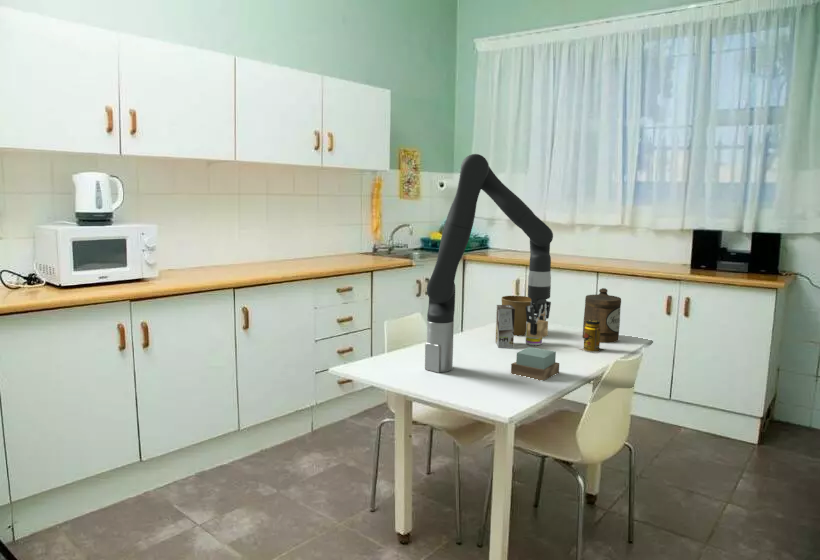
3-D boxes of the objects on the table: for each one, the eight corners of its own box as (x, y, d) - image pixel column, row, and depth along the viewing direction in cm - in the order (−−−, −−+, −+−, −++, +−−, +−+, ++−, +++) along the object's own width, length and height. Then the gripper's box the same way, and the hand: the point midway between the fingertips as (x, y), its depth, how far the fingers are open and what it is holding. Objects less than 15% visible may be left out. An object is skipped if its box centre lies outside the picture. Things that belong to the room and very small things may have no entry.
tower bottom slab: (542, 382, 198) (543, 370, 197) (510, 375, 205) (511, 363, 205) (558, 374, 207) (559, 363, 206) (528, 367, 214) (528, 356, 214)
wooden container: (617, 344, 247) (620, 292, 244) (580, 340, 253) (583, 289, 249) (619, 336, 260) (623, 287, 257) (584, 333, 266) (587, 284, 263)
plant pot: (503, 337, 256) (504, 301, 253) (497, 329, 270) (499, 295, 268) (537, 338, 256) (539, 301, 253) (530, 330, 271) (532, 295, 268)
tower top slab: (543, 369, 198) (544, 358, 198) (516, 364, 204) (516, 352, 203) (555, 362, 206) (555, 351, 206) (528, 357, 212) (528, 346, 211)
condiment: (579, 349, 238) (580, 320, 236) (590, 346, 244) (591, 317, 242) (595, 353, 233) (597, 323, 231) (606, 349, 238) (608, 320, 237)
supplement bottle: (542, 346, 242) (543, 315, 240) (525, 345, 243) (527, 314, 241) (541, 342, 249) (542, 312, 247) (525, 341, 250) (526, 311, 248)
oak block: (540, 338, 200) (541, 323, 200) (527, 335, 204) (527, 321, 203) (547, 335, 204) (548, 321, 203) (534, 333, 207) (534, 319, 207)
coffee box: (513, 348, 239) (515, 308, 236) (497, 347, 239) (499, 308, 237) (510, 342, 248) (512, 304, 245) (495, 342, 248) (496, 304, 246)
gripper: (539, 287, 193) (537, 338, 196) (559, 282, 204) (557, 331, 207) (518, 285, 198) (517, 335, 201) (539, 280, 209) (537, 328, 212)
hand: (537, 332), depth 204 cm, fingers closed on oak block, 5 cm apart
